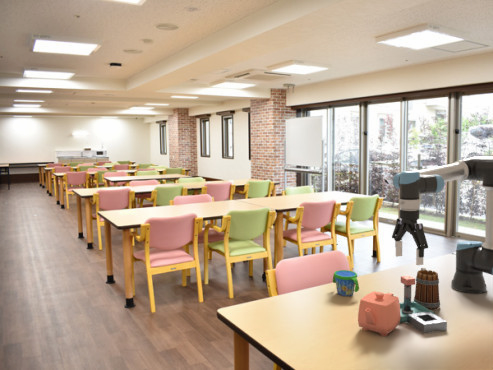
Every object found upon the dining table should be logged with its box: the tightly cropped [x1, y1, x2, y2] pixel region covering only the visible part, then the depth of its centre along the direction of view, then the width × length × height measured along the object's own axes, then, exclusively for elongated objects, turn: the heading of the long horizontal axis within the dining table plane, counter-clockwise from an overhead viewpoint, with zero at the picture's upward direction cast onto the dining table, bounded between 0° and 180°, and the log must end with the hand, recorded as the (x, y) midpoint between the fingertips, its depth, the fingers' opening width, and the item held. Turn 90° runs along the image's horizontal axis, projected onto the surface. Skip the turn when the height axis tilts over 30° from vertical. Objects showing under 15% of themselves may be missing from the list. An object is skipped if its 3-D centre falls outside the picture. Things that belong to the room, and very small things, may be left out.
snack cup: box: [332, 269, 360, 297], centre depth 195 cm, size 16×10×10 cm
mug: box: [413, 267, 441, 311], centre depth 182 cm, size 16×11×15 cm
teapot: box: [357, 291, 401, 337], centre depth 157 cm, size 22×13×14 cm, turn 138°
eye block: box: [406, 312, 448, 335], centre depth 159 cm, size 10×10×4 cm
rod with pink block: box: [400, 275, 416, 315], centre depth 170 cm, size 4×4×15 cm
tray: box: [399, 300, 436, 324], centre depth 171 cm, size 16×13×2 cm
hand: (408, 260), depth 169 cm, fingers open, 13 cm apart
